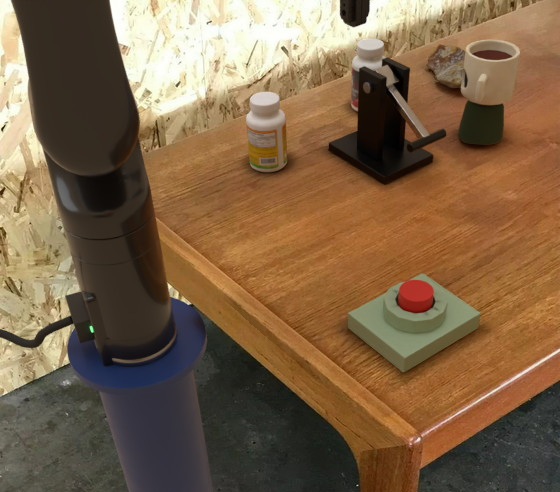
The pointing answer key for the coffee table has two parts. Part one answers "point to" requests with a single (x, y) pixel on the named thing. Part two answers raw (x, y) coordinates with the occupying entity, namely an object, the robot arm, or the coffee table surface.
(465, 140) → the character mug
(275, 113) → the supplement bottle
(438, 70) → the decorative stone
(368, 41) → the pill bottle
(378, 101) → the switch bracket
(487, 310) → the coffee table surface
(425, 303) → the button
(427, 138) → the switch lever
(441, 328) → the button block
